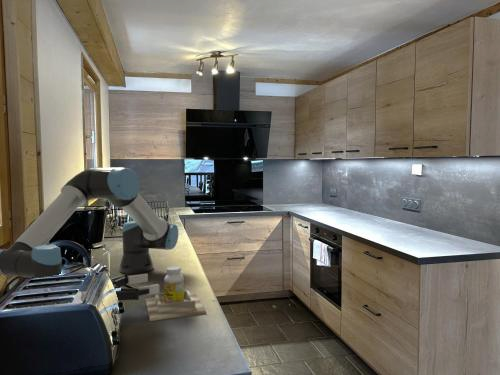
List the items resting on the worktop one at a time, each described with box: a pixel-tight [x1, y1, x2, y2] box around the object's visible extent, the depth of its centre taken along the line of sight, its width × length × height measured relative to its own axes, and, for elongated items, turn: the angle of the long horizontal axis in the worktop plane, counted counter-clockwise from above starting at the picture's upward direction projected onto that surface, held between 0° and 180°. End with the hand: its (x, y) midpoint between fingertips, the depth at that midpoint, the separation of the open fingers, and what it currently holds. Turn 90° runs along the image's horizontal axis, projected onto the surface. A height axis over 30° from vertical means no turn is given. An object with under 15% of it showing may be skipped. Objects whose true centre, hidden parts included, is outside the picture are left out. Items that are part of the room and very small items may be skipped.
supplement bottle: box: [163, 265, 185, 304], centre depth 131 cm, size 7×7×13 cm
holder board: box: [145, 289, 207, 322], centre depth 131 cm, size 18×18×4 cm
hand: (153, 282), depth 127 cm, fingers open, 13 cm apart
